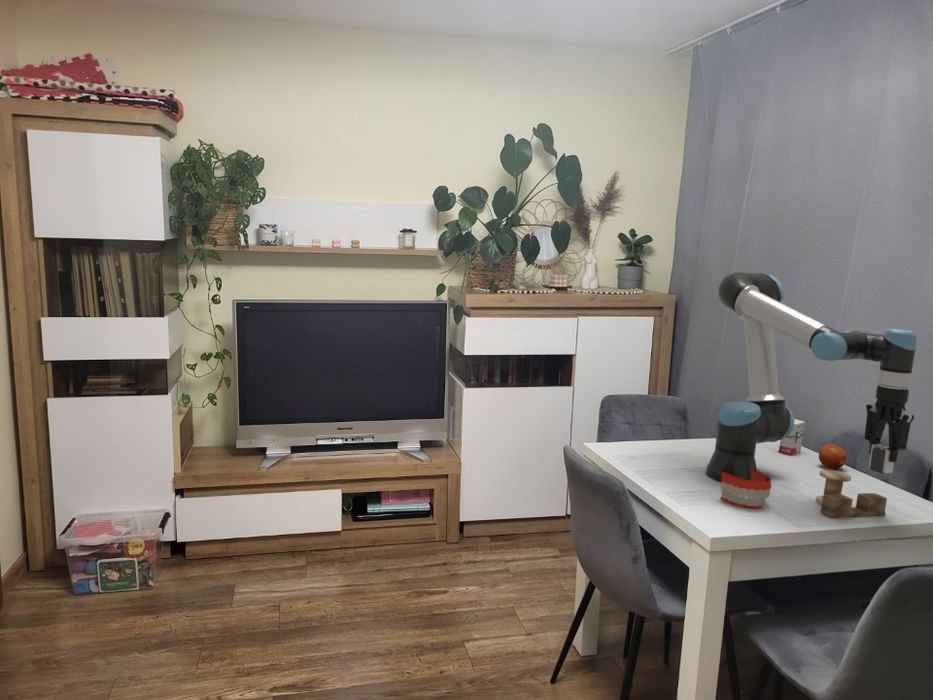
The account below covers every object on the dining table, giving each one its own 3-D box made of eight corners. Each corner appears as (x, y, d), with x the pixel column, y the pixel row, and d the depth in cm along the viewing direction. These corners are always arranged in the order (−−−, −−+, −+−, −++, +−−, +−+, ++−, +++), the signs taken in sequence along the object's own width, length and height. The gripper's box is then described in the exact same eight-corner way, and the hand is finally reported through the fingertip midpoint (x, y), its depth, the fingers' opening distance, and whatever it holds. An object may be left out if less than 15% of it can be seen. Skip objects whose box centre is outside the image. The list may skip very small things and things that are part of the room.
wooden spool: (829, 509, 199) (834, 479, 198) (809, 499, 207) (813, 470, 205) (853, 508, 201) (857, 478, 200) (832, 498, 209) (836, 469, 207)
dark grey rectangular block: (893, 473, 194) (896, 449, 193) (881, 473, 193) (885, 449, 192) (881, 468, 198) (884, 444, 197) (869, 469, 197) (873, 445, 196)
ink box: (792, 456, 253) (796, 423, 251) (778, 452, 256) (782, 420, 254) (801, 452, 259) (805, 420, 257) (787, 449, 262) (791, 417, 260)
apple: (831, 464, 246) (834, 441, 245) (850, 471, 238) (854, 448, 237) (812, 464, 244) (815, 441, 242) (831, 472, 236) (834, 449, 234)
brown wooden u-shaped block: (830, 518, 192) (833, 499, 191) (820, 512, 196) (822, 494, 195) (884, 516, 197) (887, 498, 196) (873, 510, 200) (876, 493, 200)
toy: (744, 512, 192) (748, 484, 191) (717, 499, 201) (720, 472, 200) (778, 508, 197) (782, 480, 196) (750, 495, 206) (753, 469, 205)
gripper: (932, 393, 185) (918, 479, 189) (878, 380, 201) (866, 460, 205) (909, 393, 183) (895, 480, 186) (857, 380, 199) (845, 460, 203)
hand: (880, 469), depth 196 cm, fingers closed on dark grey rectangular block, 4 cm apart
